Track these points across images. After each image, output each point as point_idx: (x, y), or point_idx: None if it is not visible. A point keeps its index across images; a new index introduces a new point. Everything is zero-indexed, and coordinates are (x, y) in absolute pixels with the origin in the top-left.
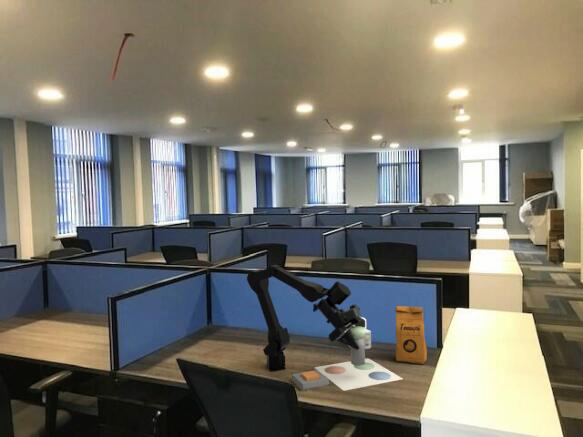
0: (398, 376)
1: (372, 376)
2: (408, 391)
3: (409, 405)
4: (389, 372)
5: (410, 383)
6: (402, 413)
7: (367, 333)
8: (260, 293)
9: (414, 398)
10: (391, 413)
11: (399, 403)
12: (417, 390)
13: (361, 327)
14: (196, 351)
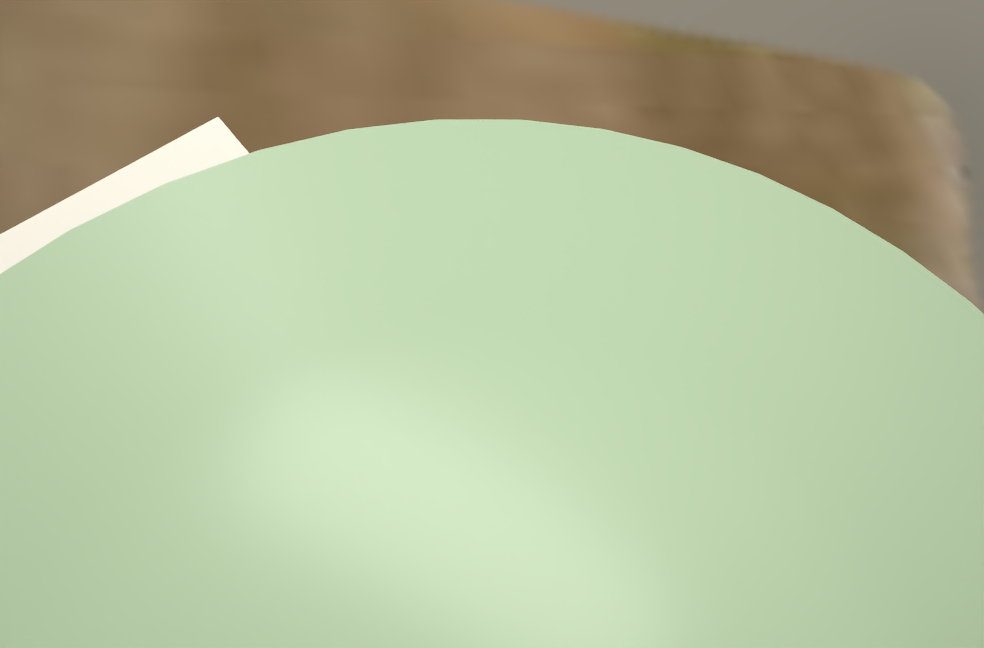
0: (147, 162)
1: None
2: (481, 95)
3: (756, 98)
4: (8, 265)
5: (273, 70)
6: (905, 148)
7: None
8: None
9: (613, 58)
10: (943, 222)
11: (752, 168)
12: (436, 25)
13: (77, 470)
14: None
